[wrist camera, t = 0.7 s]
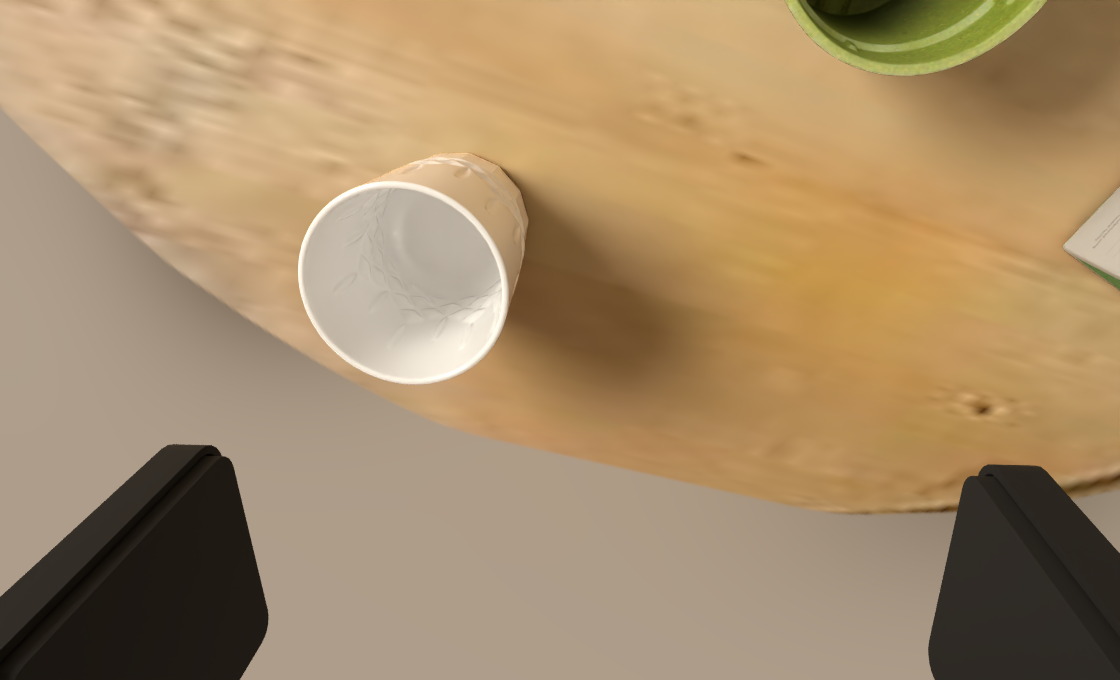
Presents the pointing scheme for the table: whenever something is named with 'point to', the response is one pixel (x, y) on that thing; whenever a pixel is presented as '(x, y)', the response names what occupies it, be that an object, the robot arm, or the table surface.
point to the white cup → (416, 268)
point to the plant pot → (910, 30)
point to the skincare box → (1100, 241)
